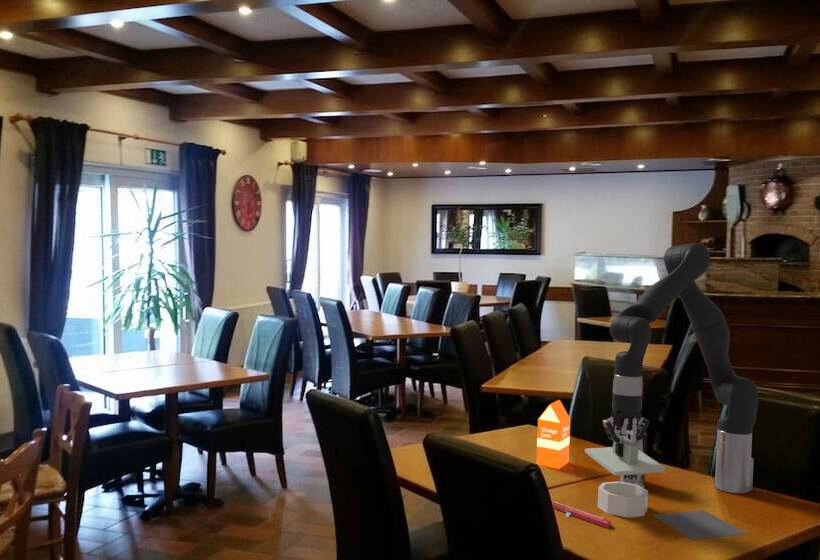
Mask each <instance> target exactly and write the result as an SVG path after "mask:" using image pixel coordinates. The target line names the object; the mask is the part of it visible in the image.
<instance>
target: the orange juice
mask: <svg viewBox="0 0 820 560" xmlns="http://www.w3.org/2000/svg"><path fill="white" fill-rule="evenodd" d="M570 438H571V417H570V416H569V414H568V413H567V410H566V409H565V407H564V404H563V403H562V401H561V400H560V399H558V400H555V401H554V402H552V403H550V404H549V405H548V406H547V407H546V408H545V410H544V411H543V412H542V414H541V415H540V416H539V417H538V418H537V437H536V461H535V462H536V464H538V466H542V467H545V468H546V467H547V468H552V469H557V470H560V469H561V468H562V467H564V466H565V465H567V464H568V463H569V459H570V440H571V439H570Z"/></svg>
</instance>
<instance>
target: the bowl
mask: <svg viewBox="0 0 820 560" xmlns="http://www.w3.org/2000/svg"><path fill="white" fill-rule="evenodd" d="M597 488H598V489H597V508H598V509H600V510H602V511H603V512H604V513H606V514H607V515H612V516H618V517H623V518H635V517H644V516H645V515H646V513H647V512H648V501H649V500H648V499H649V491H648V490H647V489H646V488H645V487H644V488H642V487H640V486H639V485H636V484H630V483H625V482H621V481H608V482H607V481H605V482H602V483H601V484H600V485H599V486H598V487H597Z"/></svg>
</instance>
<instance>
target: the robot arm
mask: <svg viewBox="0 0 820 560" xmlns="http://www.w3.org/2000/svg"><path fill="white" fill-rule="evenodd" d="M663 259H664V260H663V261H664V265H665V270H666V272H667V275H665V276H664V277H662V278H661V279H659V280H658V281H656V282H655V283H653V284H651V285H650V286H649V287H648V288H647V289H646V290H644V292H643V293H642V294H641V296H640V297H639V298H638V299H637V300H636V301H635V303H633V304H631V305H630V306H628V307H626V308H625V309H623V310H622V311H620V312H619V313H618V314H616V315H615V316H614V317H613V319H612V321H611V322H610V326H609V333H610V334H609V335H610V337H612V339H613V340H614V341H615V342H619V343H620V342H621V343H626V344H630V346H629V348H628V349H627V350H626V351H625V350H624V351H619V352H617V353H616V354H615V356H614V357H615V358H614V360H615V361H614V375H613V376H614V377H613V382H612V403H611V408H612V412H611V415H610V417H609V418H607V419H602V422H601V424H602V426H603V428H604V430H605V433H606V435H607V437H608V439H609V440H610V441H613V442H615V453H616V455H617V456H618V457H620V458H621V457H623V446H624V444H623V441H624V436H625V435H626V433H627V438H628V439H630V440H631V441H633V442H634V443H635V442H636V441H638V440H642V438H643V436H644V434H645V432H646V433H647V429H648V427H649V425H650V424H651V421H650V419H647V418H645V417H643V416H642V414H641V411H642V409H643V408H642V407H643V391H644V390H643V386H644V384H643V368H644V367H643V366H644V365H643V363H644V358H645V356H646V353H647V349H648V347H649V344H650V341H651V338H652V337H651V336H652V326H651V324H652V323H654V322H655V321H657V320H658V319H659V318H660V316H661V315H662V314H663V313H664V312H665V310H666V309H667V307H668V306H670V304H671V303H672V302H673V300H675V299H676V298H677V296H679V298H680V300H681V302H682V305H683V308H684V310H685V313H686V314H687V317H688V321H689V323H690V326H691V329H692V331H693V334H694V337H695V339H696V341H697V343H698V346H699V348H700V351H701V353H702V357H703V359H704V362H705V365H706V368H707V372H708V375H709V380H710V383H711V386H712V390H713V394H714V396H715V397H716V399H717V400H718V402H719V403H722V405H724V406H728V412H727V415H726V416H725V417H724V416H723V417H721V418H719V419H718V421H717V432H716V433H717V435H716V452H715V453H716V457H715V472H714V473H715V475H714V487H715V488H716V489H718V490H720V491H723V492H726V493H731V494H747V493H749V492H751V491H753V479H754V476H753V475H754V458H753V457H752V442H753V429H754V427H755V424H756V420H757V415H758V413H757V412H758V405H759V390H758V389H759V388H758V386H757V384H756V383H755V381H753V380H752V379H750V378H747V377H743V376H740V375H737V374H736V373H735V372H736V371H735V370H734V368H733V365H732V364H731V361H730V358H729V349H730V342H731V333H730V332H731V331H730V328H729V326H728V323H727V320H726V318H725V316H724V313H723V311H722V310H721V309H720V308H719V306H718V305H717V304H716V303H715V302H714V301H713V300H711V298H709V297H708V296H707V295H706V294H705V293H704V292H703V291H702V290H701V289H700V288H699V286H698V285H697V283H696V280H697V279H699V278H700V277H701V276H702V275H704V274H705V273H706V271H707V270H708V269H709V267H710V263H711V255H710V252H709V249H708V248H707V247H706V246H705V245H704V244H703V243H699V242H695V243H687V244H685V243H684V244H679V245H673V246H670V247H668V248H667V249H666V251H665V252H664V255H663ZM636 427H637V428H636Z"/></svg>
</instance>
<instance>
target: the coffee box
mask: <svg viewBox="0 0 820 560" xmlns="http://www.w3.org/2000/svg"><path fill="white" fill-rule="evenodd" d="M636 428H637V426H636ZM625 437H627V433H626V435H625ZM647 442H648V434H647V431H646V432H645V434H644V436H643V438H642V440H638V441H636V442H635V443H636V444H637V445H639V450H640V451H641V452H643V453H644V454H646V455H647ZM619 480H620V482H625V483H630V484H636V485H639V486H640V487H642V488H644V489H645V485H646V484H645V480H646V473H644V474H630V475H619Z"/></svg>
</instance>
